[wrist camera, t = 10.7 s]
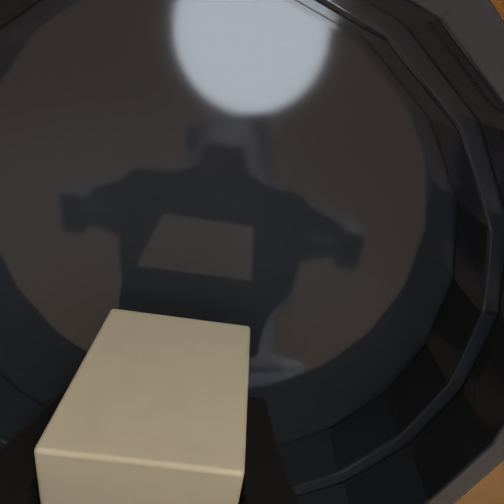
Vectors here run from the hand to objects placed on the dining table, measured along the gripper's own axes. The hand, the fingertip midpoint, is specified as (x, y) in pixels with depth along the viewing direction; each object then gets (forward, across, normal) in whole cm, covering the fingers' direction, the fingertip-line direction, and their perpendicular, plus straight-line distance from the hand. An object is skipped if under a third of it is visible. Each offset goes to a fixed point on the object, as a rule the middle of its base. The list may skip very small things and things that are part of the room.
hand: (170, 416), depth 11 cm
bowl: (+2, 0, -3) cm, 4 cm away
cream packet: (+1, 0, 0) cm, 1 cm away
